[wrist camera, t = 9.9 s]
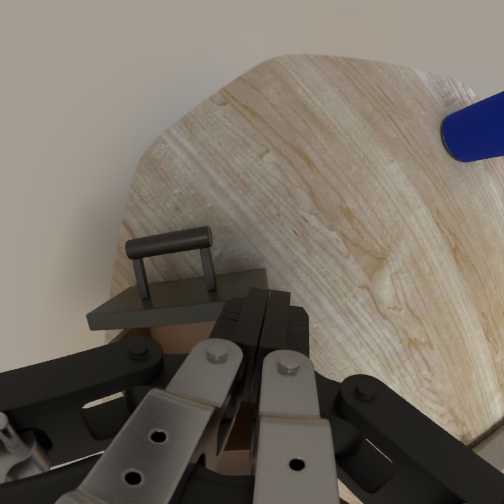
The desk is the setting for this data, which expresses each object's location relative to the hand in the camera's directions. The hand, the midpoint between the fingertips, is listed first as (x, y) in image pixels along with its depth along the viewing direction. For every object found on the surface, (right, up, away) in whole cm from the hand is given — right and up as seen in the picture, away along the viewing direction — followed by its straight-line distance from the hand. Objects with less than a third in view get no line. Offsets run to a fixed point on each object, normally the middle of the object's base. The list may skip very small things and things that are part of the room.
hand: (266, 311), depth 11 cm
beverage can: (+21, +14, +12) cm, 28 cm away
